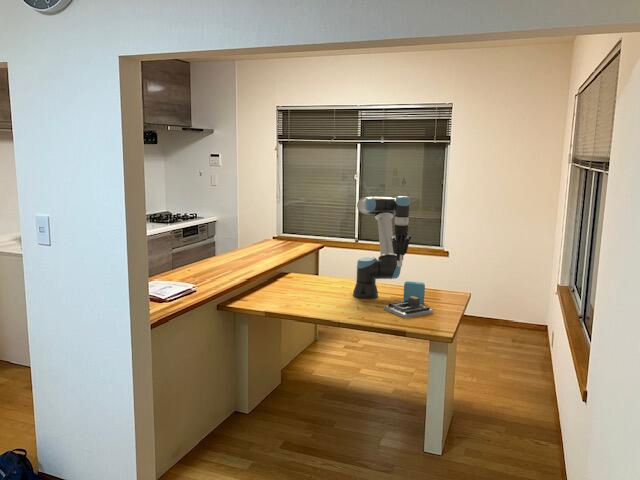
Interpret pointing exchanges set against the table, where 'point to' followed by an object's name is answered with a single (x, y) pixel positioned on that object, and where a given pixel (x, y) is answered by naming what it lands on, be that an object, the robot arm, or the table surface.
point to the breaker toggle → (413, 301)
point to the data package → (414, 290)
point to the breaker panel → (407, 309)
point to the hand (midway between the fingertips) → (399, 266)
